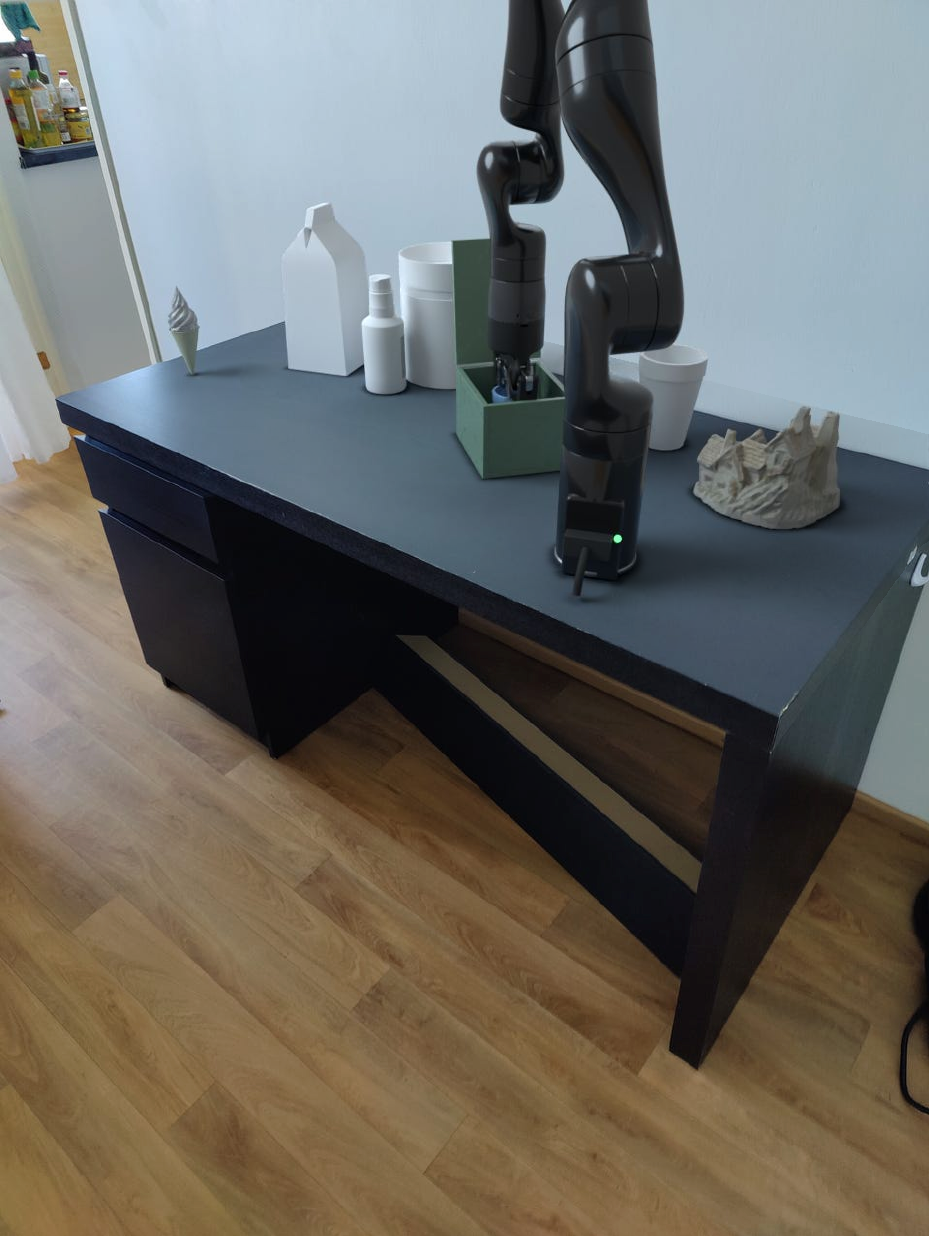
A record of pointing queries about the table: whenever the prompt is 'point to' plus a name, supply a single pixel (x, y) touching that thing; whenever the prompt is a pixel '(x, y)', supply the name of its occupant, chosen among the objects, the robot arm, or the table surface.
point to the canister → (429, 315)
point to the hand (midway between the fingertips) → (513, 432)
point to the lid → (472, 300)
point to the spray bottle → (383, 340)
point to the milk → (324, 296)
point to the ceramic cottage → (773, 474)
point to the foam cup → (672, 391)
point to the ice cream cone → (184, 329)
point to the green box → (509, 424)
